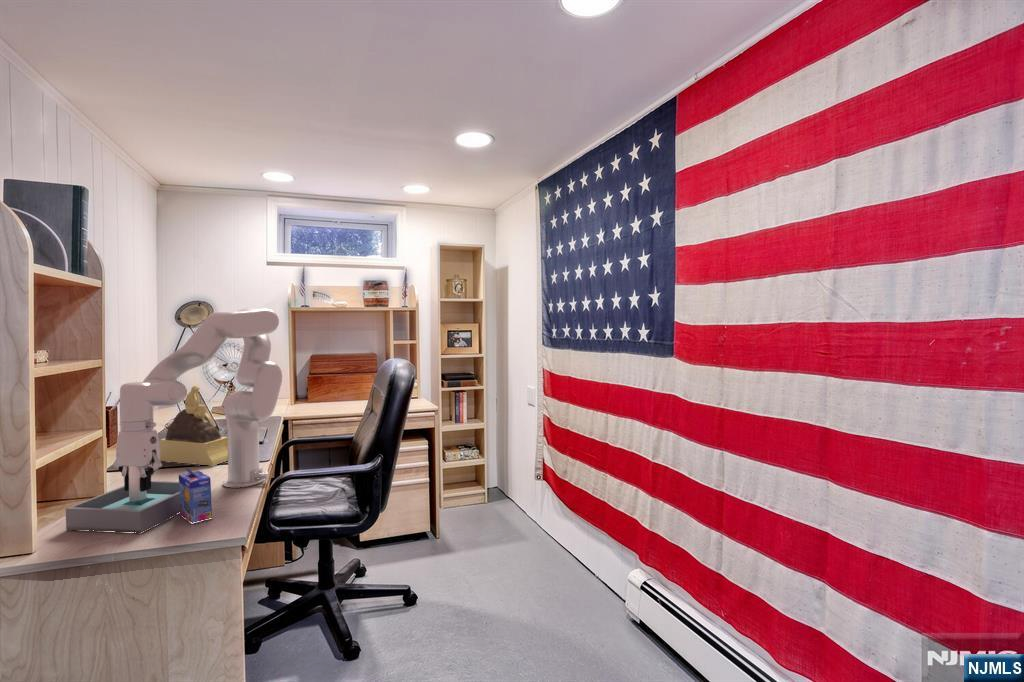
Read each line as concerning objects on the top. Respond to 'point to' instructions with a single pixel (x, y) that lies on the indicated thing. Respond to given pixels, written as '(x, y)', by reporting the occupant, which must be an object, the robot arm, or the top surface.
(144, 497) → the plug
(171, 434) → the statue on rock pedestal
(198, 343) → the robot arm
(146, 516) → the storage box
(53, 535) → the top surface
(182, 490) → the ink cartridge box
